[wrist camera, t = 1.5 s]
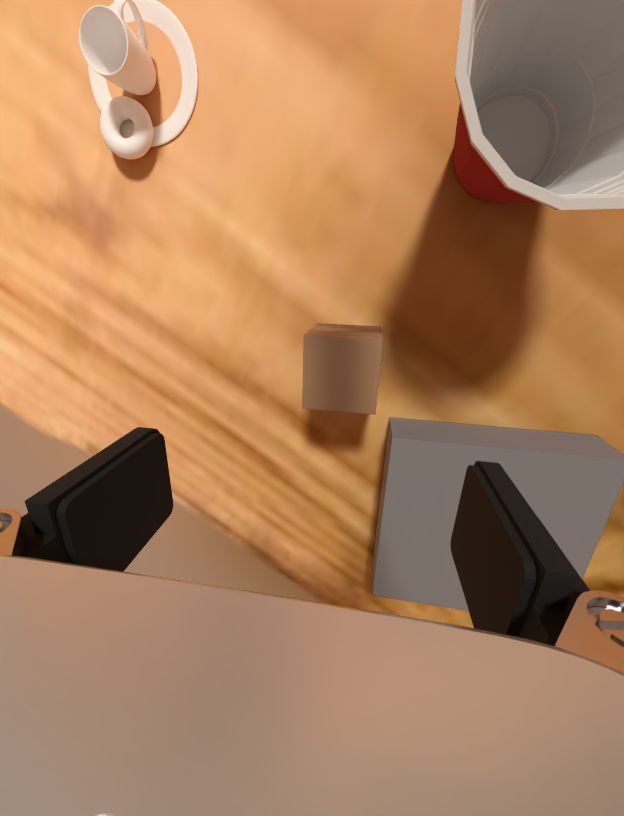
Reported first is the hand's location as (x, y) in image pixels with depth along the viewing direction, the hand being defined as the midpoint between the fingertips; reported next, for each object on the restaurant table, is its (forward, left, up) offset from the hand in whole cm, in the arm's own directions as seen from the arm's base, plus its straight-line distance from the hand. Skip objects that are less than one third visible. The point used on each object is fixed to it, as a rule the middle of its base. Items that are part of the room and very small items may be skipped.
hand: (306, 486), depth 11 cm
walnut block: (0, 0, -19) cm, 19 cm away
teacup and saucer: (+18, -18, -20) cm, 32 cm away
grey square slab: (-12, +13, -19) cm, 26 cm away
